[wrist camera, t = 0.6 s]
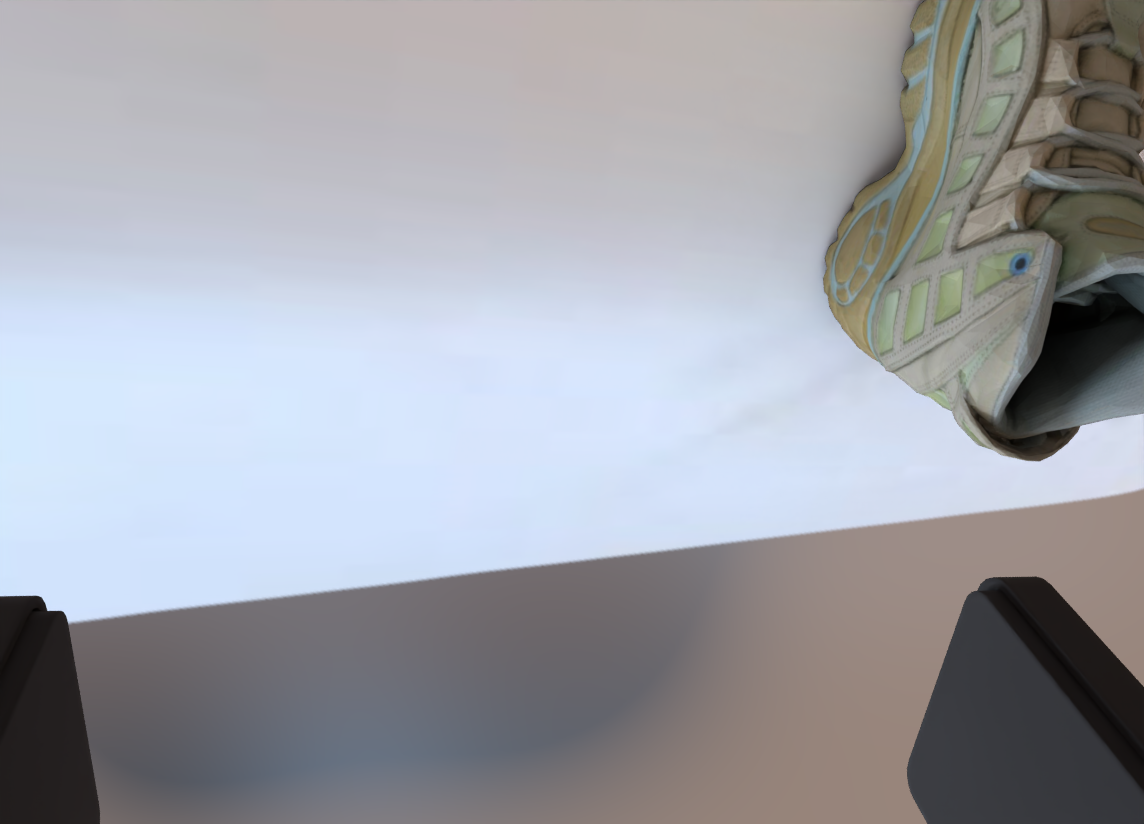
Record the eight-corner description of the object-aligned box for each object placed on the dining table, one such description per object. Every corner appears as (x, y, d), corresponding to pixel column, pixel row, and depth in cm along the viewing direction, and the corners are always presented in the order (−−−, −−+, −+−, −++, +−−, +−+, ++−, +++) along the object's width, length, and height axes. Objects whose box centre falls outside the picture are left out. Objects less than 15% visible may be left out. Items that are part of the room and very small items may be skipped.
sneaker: (1213, -19, 41) (1553, 39, 28) (910, 360, 48) (1065, 547, 35) (1016, -176, 38) (1295, -195, 24) (725, 255, 45) (819, 418, 32)
